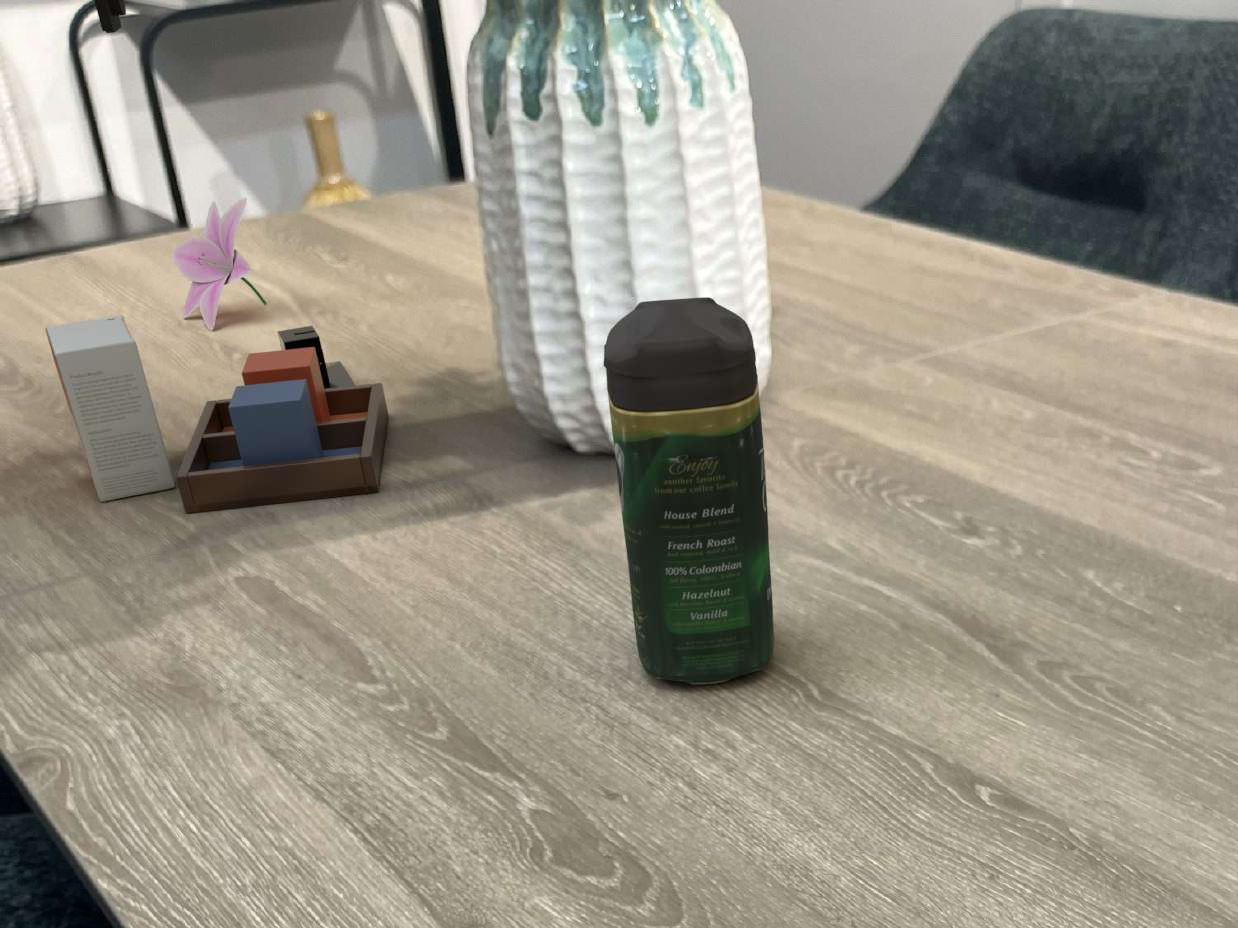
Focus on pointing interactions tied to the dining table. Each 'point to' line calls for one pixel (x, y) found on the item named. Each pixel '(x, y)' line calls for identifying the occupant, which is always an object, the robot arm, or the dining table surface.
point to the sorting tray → (344, 469)
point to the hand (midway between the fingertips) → (37, 36)
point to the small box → (111, 407)
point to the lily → (212, 262)
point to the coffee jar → (692, 488)
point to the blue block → (274, 423)
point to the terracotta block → (289, 374)
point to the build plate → (306, 338)
